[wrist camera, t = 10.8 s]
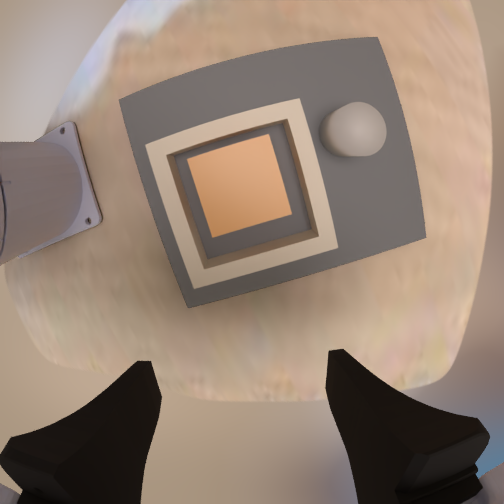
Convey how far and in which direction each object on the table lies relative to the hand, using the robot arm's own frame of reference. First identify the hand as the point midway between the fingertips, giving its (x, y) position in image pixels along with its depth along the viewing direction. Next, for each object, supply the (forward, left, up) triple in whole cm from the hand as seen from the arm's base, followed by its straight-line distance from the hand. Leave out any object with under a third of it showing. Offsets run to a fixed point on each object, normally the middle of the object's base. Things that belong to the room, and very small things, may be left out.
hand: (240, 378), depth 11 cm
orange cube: (+2, +7, -9) cm, 12 cm away
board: (+5, +7, -10) cm, 13 cm away
